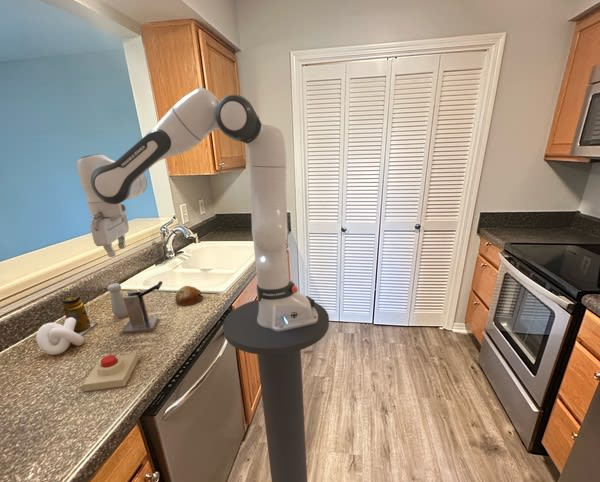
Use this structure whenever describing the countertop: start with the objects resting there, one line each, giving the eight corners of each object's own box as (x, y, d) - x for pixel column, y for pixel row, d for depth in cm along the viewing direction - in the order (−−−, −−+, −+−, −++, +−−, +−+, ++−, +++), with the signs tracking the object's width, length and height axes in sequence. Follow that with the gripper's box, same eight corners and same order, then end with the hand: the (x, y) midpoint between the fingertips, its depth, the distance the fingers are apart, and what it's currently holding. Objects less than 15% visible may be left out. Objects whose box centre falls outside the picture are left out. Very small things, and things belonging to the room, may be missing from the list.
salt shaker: (134, 313, 125) (125, 282, 120) (121, 320, 120) (111, 288, 115) (123, 311, 128) (114, 280, 122) (110, 317, 123) (100, 286, 118)
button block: (138, 359, 97) (135, 348, 95) (125, 386, 86) (121, 373, 84) (103, 363, 96) (99, 352, 94) (84, 391, 85) (80, 379, 83)
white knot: (97, 339, 108) (89, 316, 105) (64, 361, 98) (54, 335, 94) (72, 335, 111) (63, 312, 108) (37, 356, 101) (26, 331, 97)
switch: (164, 284, 113) (160, 279, 112) (160, 290, 109) (156, 284, 108) (134, 300, 114) (130, 295, 113) (130, 306, 109) (125, 301, 108)
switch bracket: (158, 319, 119) (151, 288, 114) (153, 330, 112) (144, 297, 107) (130, 322, 118) (121, 291, 113) (122, 334, 111) (112, 300, 106)
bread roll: (188, 302, 140) (177, 287, 138) (207, 293, 138) (196, 277, 135) (179, 313, 131) (167, 297, 129) (200, 303, 129) (188, 287, 126)
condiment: (96, 323, 119) (86, 293, 114) (81, 335, 111) (70, 304, 106) (77, 324, 119) (66, 294, 114) (61, 336, 111) (49, 305, 107)
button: (119, 359, 91) (117, 354, 90) (114, 366, 88) (112, 361, 87) (105, 360, 91) (103, 355, 90) (100, 368, 87) (98, 363, 87)
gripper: (103, 215, 93) (116, 260, 98) (126, 204, 112) (136, 243, 117) (79, 216, 92) (94, 262, 98) (107, 205, 111) (118, 244, 116)
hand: (117, 252), depth 107 cm, fingers open, 8 cm apart
